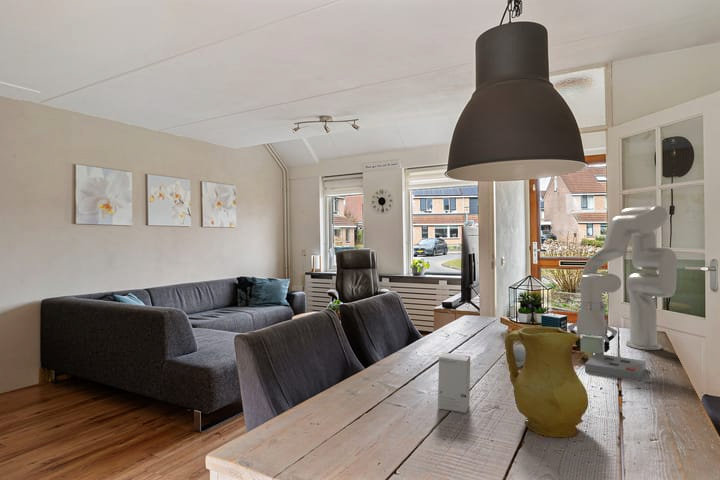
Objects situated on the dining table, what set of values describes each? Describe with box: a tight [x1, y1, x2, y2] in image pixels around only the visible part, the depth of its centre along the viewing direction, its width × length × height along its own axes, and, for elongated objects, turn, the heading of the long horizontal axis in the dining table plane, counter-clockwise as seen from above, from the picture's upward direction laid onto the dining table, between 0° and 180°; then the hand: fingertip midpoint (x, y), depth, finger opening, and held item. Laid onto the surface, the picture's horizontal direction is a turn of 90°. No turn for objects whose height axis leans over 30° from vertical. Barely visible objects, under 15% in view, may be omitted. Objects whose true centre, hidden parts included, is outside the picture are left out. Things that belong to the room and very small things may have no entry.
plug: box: [580, 335, 605, 361], centre depth 165 cm, size 8×7×8 cm
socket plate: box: [584, 353, 647, 382], centre depth 149 cm, size 16×16×4 cm
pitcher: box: [504, 325, 589, 438], centre depth 108 cm, size 17×19×25 cm
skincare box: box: [437, 352, 471, 414], centre depth 120 cm, size 8×6×15 cm
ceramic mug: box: [513, 343, 526, 368], centre depth 157 cm, size 11×8×8 cm
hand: (592, 349), depth 165 cm, fingers open, 9 cm apart
